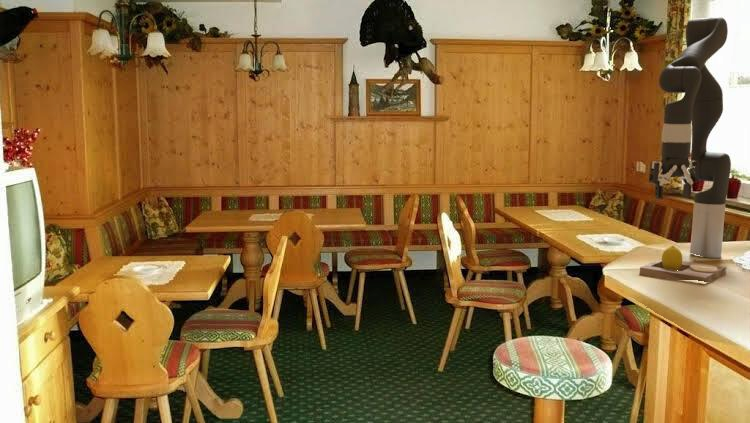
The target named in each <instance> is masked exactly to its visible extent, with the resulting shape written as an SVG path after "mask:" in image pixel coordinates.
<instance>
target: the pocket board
mask: <svg viewBox="0 0 750 423" xmlns="http://www.w3.org/2000/svg"><path fill="white" fill-rule="evenodd" d="M693 264H702V263H700V262H694V261H693V262H692V261H687V260H682V265H681V267H680V268H679V269H678V271H677V270H671V269H665V268H664V267H663V265H662V258H659V259H657V260H654V261H652V262H650V263H648V264H645V265H643V266H640V268H639V275H644V276H649V277H655V278H660V279H661V278H662V279H666V280H672V281H678V280H698V281H704V282H710V283H711V282H713V281H715V280H717V279H719V278H721V277H722V276H724V275H726V273H727V266H720V265H714V264H713V265H712V264H710V265H711V266H715V267H717V272H699V271H694V270H691V269H690V265H693ZM703 264H704V265H709V264H708V263H703Z"/></svg>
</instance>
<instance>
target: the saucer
mask: <svg viewBox="0 0 750 423" xmlns="http://www.w3.org/2000/svg"><path fill="white" fill-rule="evenodd" d="M704 264H705V263H701V264H693V265H690V269H691V270H694V271H699V272H717V267H715V266H716V265H715V266H711V265H712V264H708V265H704Z"/></svg>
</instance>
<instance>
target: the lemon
mask: <svg viewBox="0 0 750 423" xmlns="http://www.w3.org/2000/svg"><path fill="white" fill-rule="evenodd" d="M661 255H662V256H661V259H662V265H663V267H664V268H665V269H671V270H678V269H679V268H680V267H681V265H682V261H683V254H682V251H681V250H680V249H679V248H677V247H676V246H675V245H671V246H669V247H667V248H666V249H664V251H663V252H662V254H661Z"/></svg>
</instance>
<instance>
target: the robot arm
mask: <svg viewBox="0 0 750 423" xmlns="http://www.w3.org/2000/svg"><path fill="white" fill-rule="evenodd" d="M728 28H729V27H728V23H727V20H726V19H725V18H724V17H721V16H711V17H710V16H709V17H700V18H692V19H690V20H688V21H687V23H686V27H685V41H686V42H685V43H686V48H684V50H683V51H682V52H681V54H680V55H679V56H678V58H677V59H675V60H674V61H672V62H671V63H669V64H667V66H665V67H664V68H662V69H663V70H662V71H661V72H660V75H659V79H658V83H659V84H658V85H659V87H660V89H661V90H662V91H663V92H665V93H669V94H677V93H679V94H681V93H683V94H684V95H683V97H682V98H681V99H679V100H674V101H670V102H667V103H666V104H665V107H664V115H663V126H662V130H661V131H662V134H661V148H660V149H661V151H660V157H661V160H660V161H659V162H657V161H651V162H650V167H649V175H648V183H650V184H652V185H654V187H655V188H654V197H655V198H656V200H663V199H664V186H663V185H664V184H665V183H666V181H668V180H669V178H675V177H676V178H677V177H678V178H680V179H681V180H682V182H683V183H684V184H682V185H683V187H682V198H684V199H690V197H691V195H692V191H693V190H692V187H693V184H695V183H698V182H700V181H701V182H703V181H704V182H710V183H711V182H712V184H711V187H710V188H708V189H706V190H703V191H698V192H696V193H695V194H694V197H693V198H694V199H693V213H692V223H691V224H692V225H691V237H690V250H689V254H690V253H693V254H696V255H700V256H703V257H702V258H704V257H707V258H706V259H718V258H721V257H722V252H723V251H722V248H723V240H724V239H723V238H724V237H723V236H724V229H725V228H724V226H725V225H724V224H725V216H726V215H725V214H726V201H727V196H728V190H729V183H730V175H731V169H732V161H731V157H730V156H729V154H727V153H725V152H714V151H713V152H711V151H710V152H709V151H707V144H708V143H707V142H708V138H709V136H710V134H711V132H712V131H713V130H714V127H716V125H717V123H718V122H719V120H720V118H721V116H722V114H723V111H724V96H723V94H724V93H723V92H724V91H723V88H722V87H721V85H720V84H719V81H718V80H717V79H716V78H715V76H714V75H713V74H712V73H711V72H710V70H709V69H708V67H707V66H706V63H707V61H708V60H710V58H712V56H714V55H715V54H716V53H717V52H718V51H720V50H721V49H722V47H724V45H725V44H726V42H727V38H728V33H729V32H728V31H729V30H728ZM689 158H690V159H689ZM660 169H661V170H660ZM688 169H689V172H688Z"/></svg>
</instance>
